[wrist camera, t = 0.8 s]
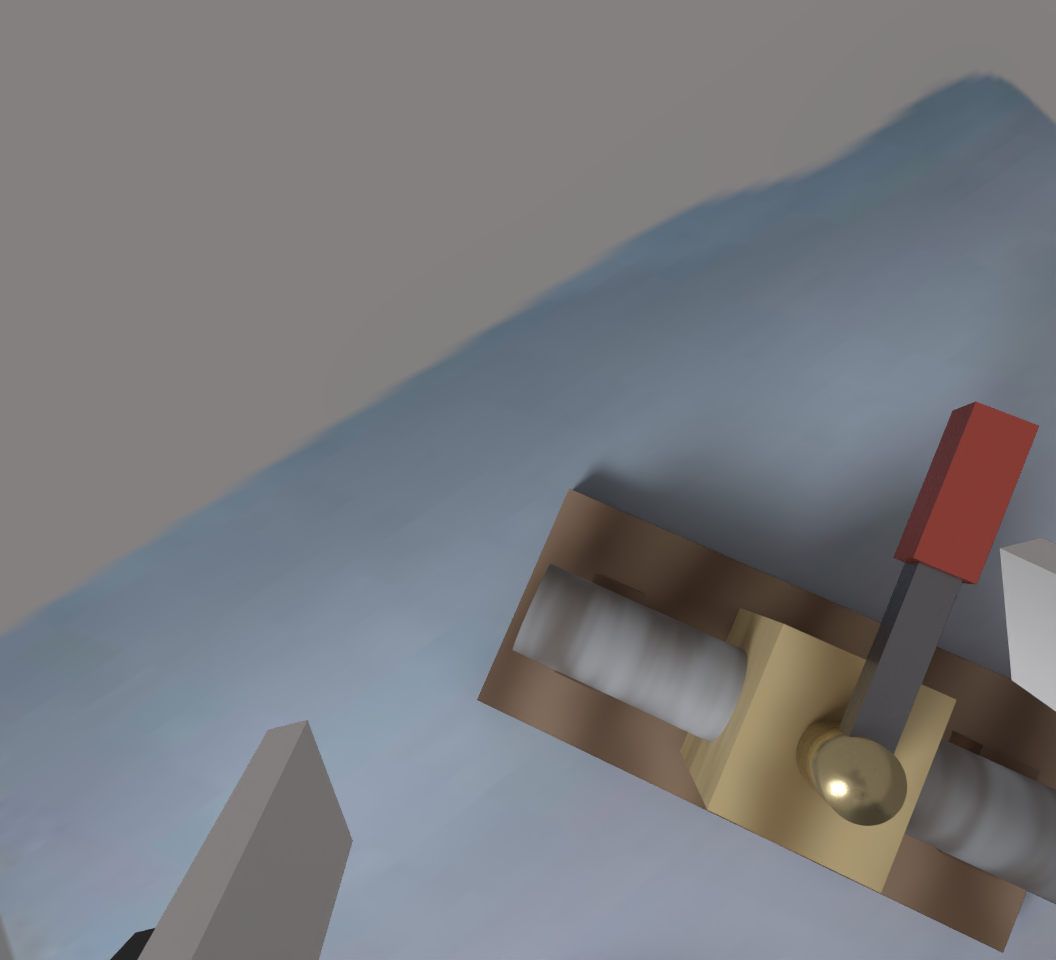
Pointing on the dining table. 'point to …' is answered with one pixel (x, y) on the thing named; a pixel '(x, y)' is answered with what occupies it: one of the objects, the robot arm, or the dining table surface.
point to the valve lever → (918, 611)
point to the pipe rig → (777, 715)
